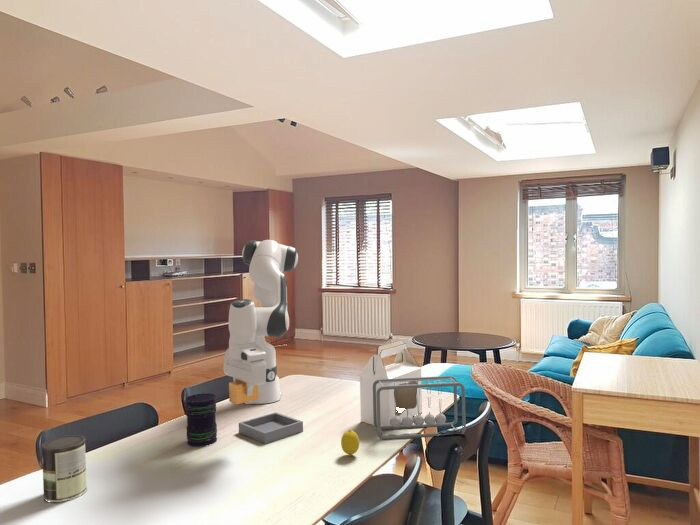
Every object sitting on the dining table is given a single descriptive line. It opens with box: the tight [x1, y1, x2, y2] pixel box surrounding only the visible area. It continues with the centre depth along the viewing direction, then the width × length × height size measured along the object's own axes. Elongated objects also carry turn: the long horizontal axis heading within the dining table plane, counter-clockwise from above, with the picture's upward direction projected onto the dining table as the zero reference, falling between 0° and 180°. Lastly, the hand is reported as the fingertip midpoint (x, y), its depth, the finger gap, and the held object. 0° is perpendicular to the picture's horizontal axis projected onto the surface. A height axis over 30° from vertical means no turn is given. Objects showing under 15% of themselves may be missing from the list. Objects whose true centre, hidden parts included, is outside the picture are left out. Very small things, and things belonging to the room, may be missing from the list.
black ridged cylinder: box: [185, 393, 218, 448], centre depth 174 cm, size 10×10×15 cm
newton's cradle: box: [373, 375, 467, 441], centre depth 178 cm, size 30×10×18 cm, turn 95°
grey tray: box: [238, 411, 304, 445], centre depth 182 cm, size 16×16×4 cm
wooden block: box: [228, 380, 259, 405], centre depth 166 cm, size 4×8×6 cm, turn 133°
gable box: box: [359, 340, 423, 427], centre depth 194 cm, size 22×13×28 cm, turn 141°
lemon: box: [340, 429, 360, 457], centre depth 159 cm, size 6×6×8 cm
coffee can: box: [40, 434, 88, 503], centre depth 138 cm, size 10×10×14 cm
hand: (244, 393), depth 166 cm, fingers closed on wooden block, 4 cm apart
